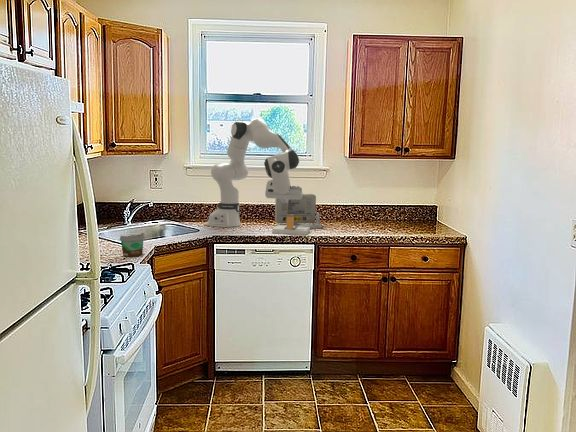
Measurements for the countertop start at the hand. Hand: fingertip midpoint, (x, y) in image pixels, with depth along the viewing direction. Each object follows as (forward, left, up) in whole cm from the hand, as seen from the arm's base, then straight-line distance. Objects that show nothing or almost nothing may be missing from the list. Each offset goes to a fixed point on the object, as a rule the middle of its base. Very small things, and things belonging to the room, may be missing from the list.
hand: (285, 201), depth 305 cm
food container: (-58, -64, -21) cm, 89 cm away
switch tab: (0, +16, -18) cm, 24 cm away
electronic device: (+9, +38, -21) cm, 44 cm away
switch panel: (0, +20, -20) cm, 29 cm away
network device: (-2, +44, -21) cm, 49 cm away
